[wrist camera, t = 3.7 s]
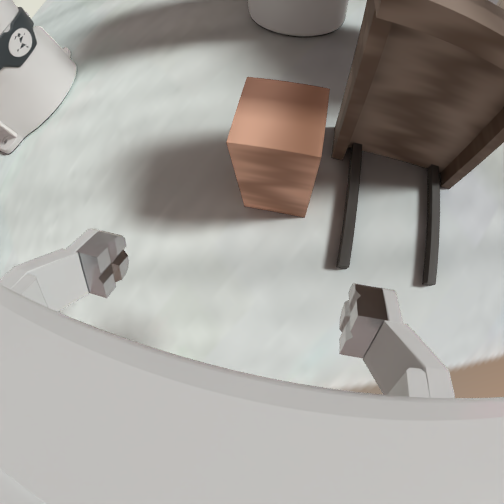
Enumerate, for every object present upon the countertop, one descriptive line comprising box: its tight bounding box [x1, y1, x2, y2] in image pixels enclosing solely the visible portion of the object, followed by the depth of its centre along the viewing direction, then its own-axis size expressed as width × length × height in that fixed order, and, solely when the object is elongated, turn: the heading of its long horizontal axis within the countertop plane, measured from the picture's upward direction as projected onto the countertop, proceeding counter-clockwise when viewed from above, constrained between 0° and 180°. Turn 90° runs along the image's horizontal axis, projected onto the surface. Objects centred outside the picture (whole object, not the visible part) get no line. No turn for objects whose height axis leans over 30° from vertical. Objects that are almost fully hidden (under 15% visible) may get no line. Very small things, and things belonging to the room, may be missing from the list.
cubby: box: [332, 0, 504, 286], centre depth 16 cm, size 12×13×18 cm
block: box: [226, 77, 330, 218], centre depth 21 cm, size 5×5×10 cm
